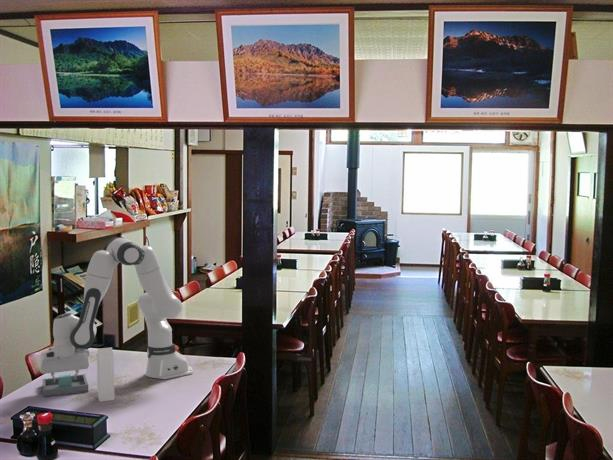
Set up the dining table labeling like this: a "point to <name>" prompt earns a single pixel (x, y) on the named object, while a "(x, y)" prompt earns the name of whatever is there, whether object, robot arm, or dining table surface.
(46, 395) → the tray
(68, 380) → the block
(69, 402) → the dining table surface
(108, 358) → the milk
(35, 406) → the dining table surface
